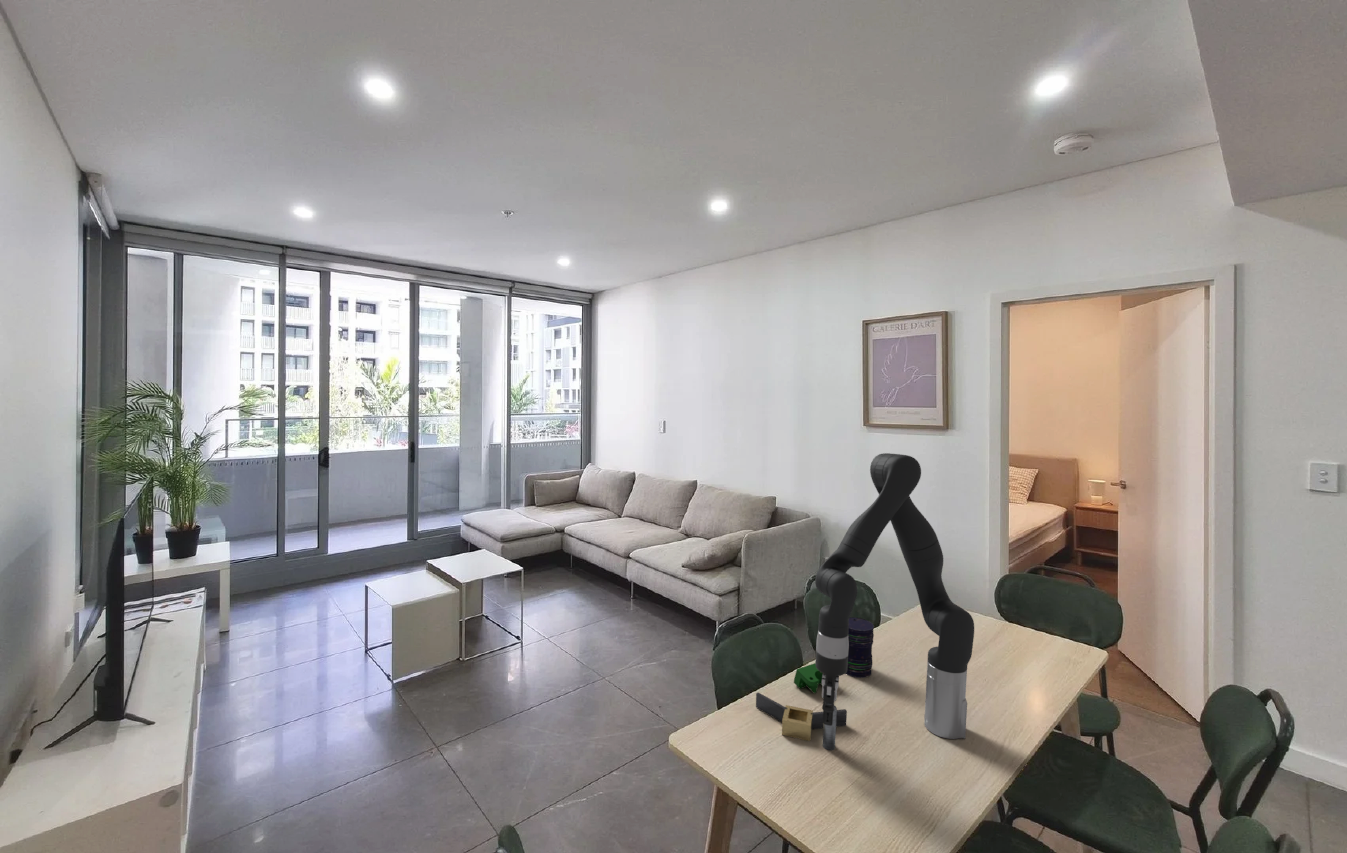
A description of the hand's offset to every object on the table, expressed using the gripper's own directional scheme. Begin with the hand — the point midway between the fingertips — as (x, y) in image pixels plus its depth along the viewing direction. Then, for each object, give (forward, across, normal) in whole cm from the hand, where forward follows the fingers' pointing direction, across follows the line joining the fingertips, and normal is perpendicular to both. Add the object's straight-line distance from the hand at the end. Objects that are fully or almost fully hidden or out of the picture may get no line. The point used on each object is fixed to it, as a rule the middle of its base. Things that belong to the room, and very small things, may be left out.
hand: (828, 714), depth 135 cm
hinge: (+8, +6, +8) cm, 13 cm away
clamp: (+8, +27, +5) cm, 29 cm away
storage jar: (+8, +42, -6) cm, 43 cm away
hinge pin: (+8, 0, 0) cm, 8 cm away
